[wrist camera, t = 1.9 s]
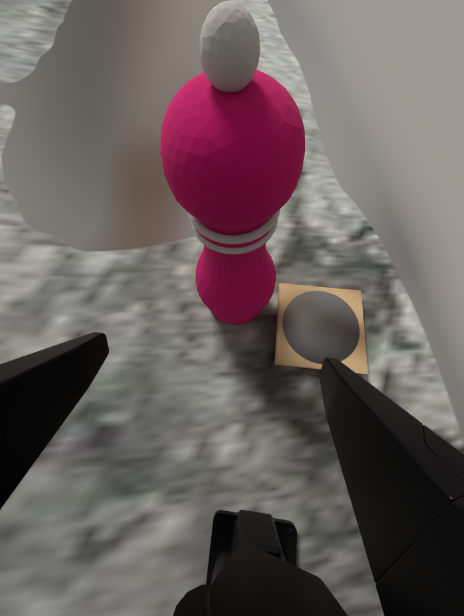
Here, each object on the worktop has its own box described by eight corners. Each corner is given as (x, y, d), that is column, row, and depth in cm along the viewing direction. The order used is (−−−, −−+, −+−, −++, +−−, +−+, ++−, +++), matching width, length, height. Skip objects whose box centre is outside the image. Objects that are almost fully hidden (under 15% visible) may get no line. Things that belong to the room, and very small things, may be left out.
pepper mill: (191, 288, 25) (50, -8, 6) (245, 257, 26) (262, -72, 7) (225, 342, 23) (167, 138, 4) (282, 306, 24) (439, 17, 5)
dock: (363, 374, 22) (368, 374, 21) (274, 364, 22) (276, 363, 21) (357, 293, 24) (361, 290, 24) (278, 286, 25) (279, 283, 24)
